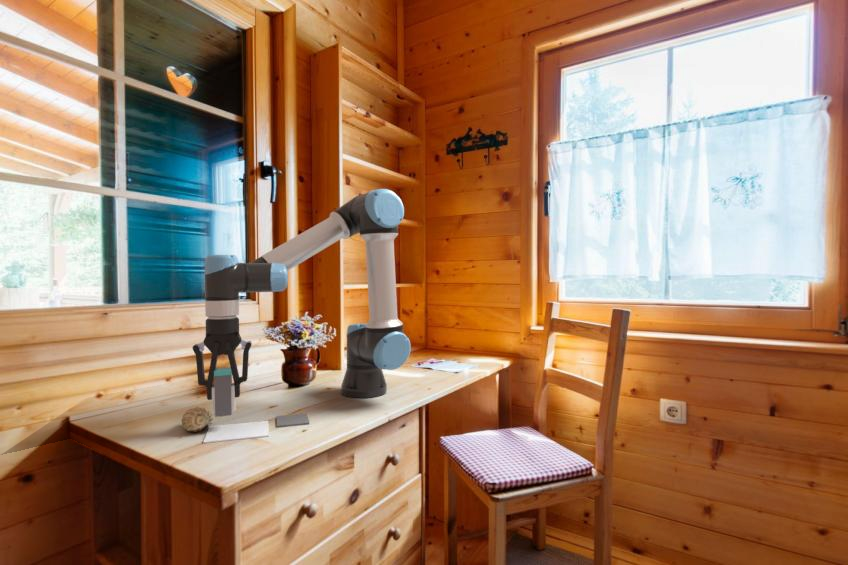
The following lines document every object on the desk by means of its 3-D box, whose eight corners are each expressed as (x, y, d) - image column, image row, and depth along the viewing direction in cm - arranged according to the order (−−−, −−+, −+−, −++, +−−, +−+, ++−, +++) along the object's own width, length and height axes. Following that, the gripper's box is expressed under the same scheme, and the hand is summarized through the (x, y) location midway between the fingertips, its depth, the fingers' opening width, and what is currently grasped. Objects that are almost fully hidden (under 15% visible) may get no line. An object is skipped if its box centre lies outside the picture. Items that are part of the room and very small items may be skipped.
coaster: (306, 414, 120) (306, 413, 120) (309, 424, 113) (309, 422, 113) (276, 417, 117) (276, 416, 117) (276, 427, 110) (276, 425, 110)
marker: (232, 410, 110) (232, 366, 110) (231, 415, 106) (231, 370, 106) (216, 412, 109) (215, 368, 108) (214, 417, 105) (213, 371, 105)
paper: (268, 421, 114) (268, 420, 114) (268, 436, 104) (268, 435, 104) (209, 427, 109) (209, 426, 109) (203, 443, 99) (203, 442, 99)
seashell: (173, 443, 106) (196, 431, 102) (165, 420, 107) (188, 407, 103) (202, 432, 113) (224, 420, 109) (194, 410, 114) (216, 397, 110)
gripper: (258, 314, 113) (260, 403, 114) (187, 317, 108) (189, 410, 108) (258, 317, 106) (259, 412, 107) (181, 320, 101) (183, 420, 101)
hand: (224, 411), depth 108 cm, fingers closed on marker, 4 cm apart
